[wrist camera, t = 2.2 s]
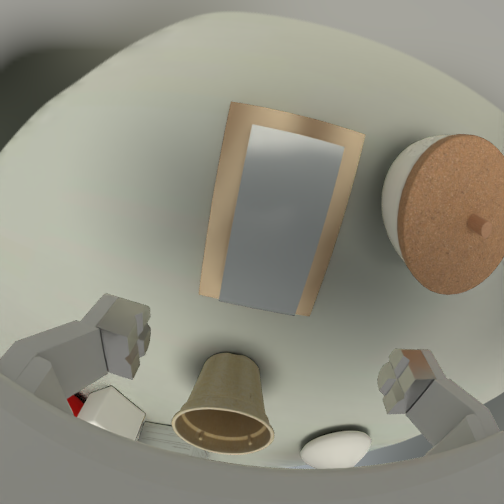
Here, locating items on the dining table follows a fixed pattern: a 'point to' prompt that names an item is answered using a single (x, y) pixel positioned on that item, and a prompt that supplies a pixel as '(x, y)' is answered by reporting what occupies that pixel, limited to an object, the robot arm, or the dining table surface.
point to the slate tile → (278, 218)
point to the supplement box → (168, 440)
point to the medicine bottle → (112, 413)
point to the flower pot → (226, 408)
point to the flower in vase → (336, 450)
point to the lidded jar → (447, 210)
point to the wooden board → (230, 182)
